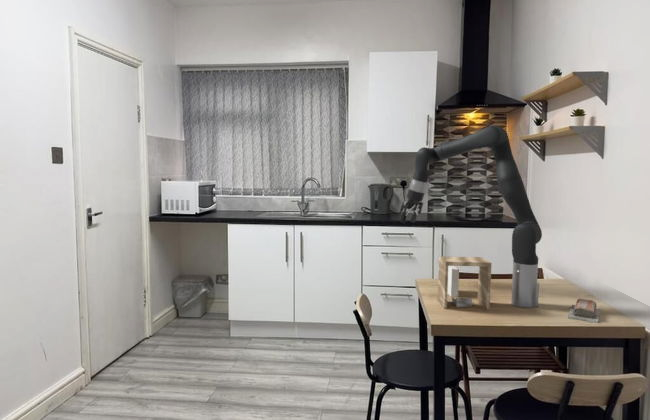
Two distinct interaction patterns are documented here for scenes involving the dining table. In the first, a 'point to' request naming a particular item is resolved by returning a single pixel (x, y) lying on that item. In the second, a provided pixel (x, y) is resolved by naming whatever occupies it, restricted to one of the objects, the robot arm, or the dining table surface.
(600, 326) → the dining table surface
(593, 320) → the packaged product
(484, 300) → the wooden arch
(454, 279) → the white box
